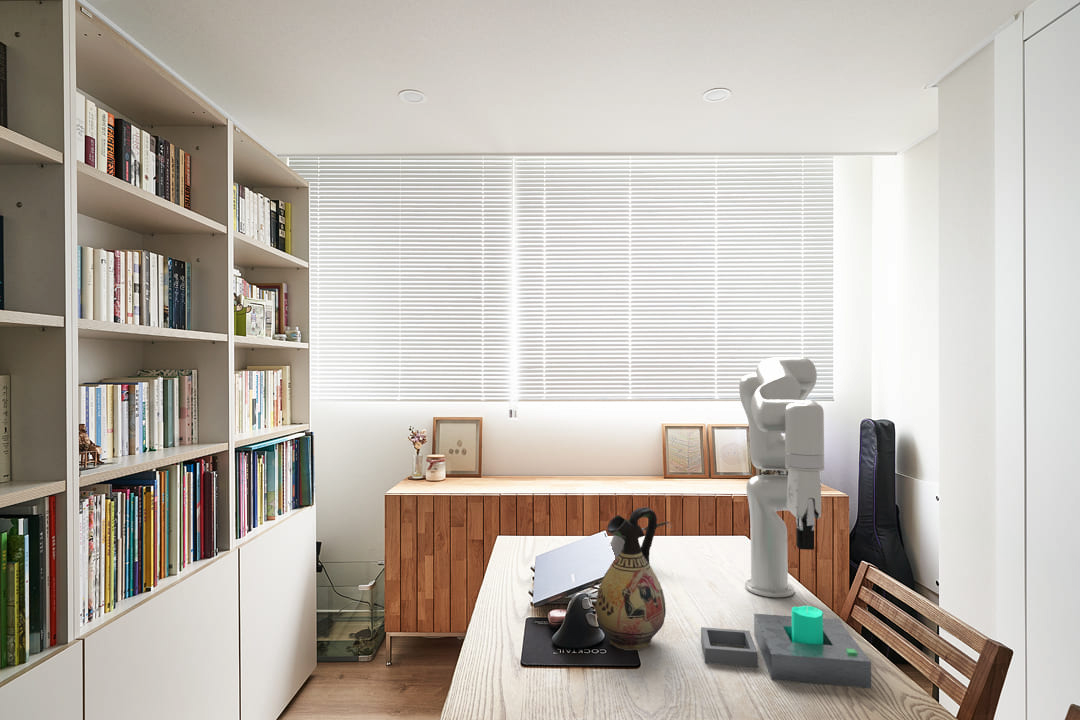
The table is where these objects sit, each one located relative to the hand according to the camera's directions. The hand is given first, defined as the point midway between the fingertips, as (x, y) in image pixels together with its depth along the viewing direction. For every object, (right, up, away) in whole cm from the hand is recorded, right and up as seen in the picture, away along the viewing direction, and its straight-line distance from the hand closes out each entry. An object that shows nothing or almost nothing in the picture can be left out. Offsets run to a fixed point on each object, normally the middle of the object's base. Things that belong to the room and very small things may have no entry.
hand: (805, 548), depth 126 cm
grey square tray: (-16, -23, +2) cm, 28 cm away
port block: (0, -23, -1) cm, 23 cm away
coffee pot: (-25, -25, +62) cm, 71 cm away
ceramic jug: (-35, -24, +8) cm, 43 cm away
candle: (0, -23, -2) cm, 23 cm away
